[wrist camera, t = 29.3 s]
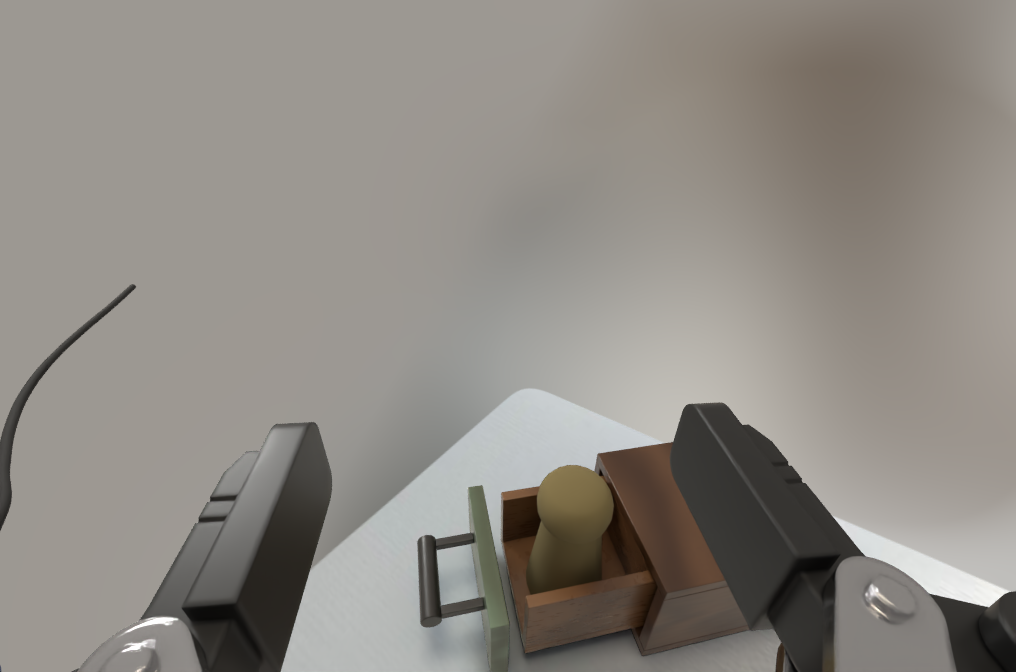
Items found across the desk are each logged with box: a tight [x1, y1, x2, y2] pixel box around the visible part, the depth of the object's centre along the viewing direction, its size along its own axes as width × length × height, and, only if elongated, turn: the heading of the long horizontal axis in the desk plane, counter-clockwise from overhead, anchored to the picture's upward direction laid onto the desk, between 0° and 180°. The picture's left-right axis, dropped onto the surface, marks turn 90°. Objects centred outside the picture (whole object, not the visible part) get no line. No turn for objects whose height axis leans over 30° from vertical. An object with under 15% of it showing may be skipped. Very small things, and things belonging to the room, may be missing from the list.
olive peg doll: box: [526, 465, 614, 595], centre depth 32 cm, size 6×6×11 cm
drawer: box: [417, 476, 658, 672], centre depth 34 cm, size 17×11×7 cm, turn 102°
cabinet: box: [594, 442, 750, 656], centre depth 36 cm, size 14×12×9 cm
